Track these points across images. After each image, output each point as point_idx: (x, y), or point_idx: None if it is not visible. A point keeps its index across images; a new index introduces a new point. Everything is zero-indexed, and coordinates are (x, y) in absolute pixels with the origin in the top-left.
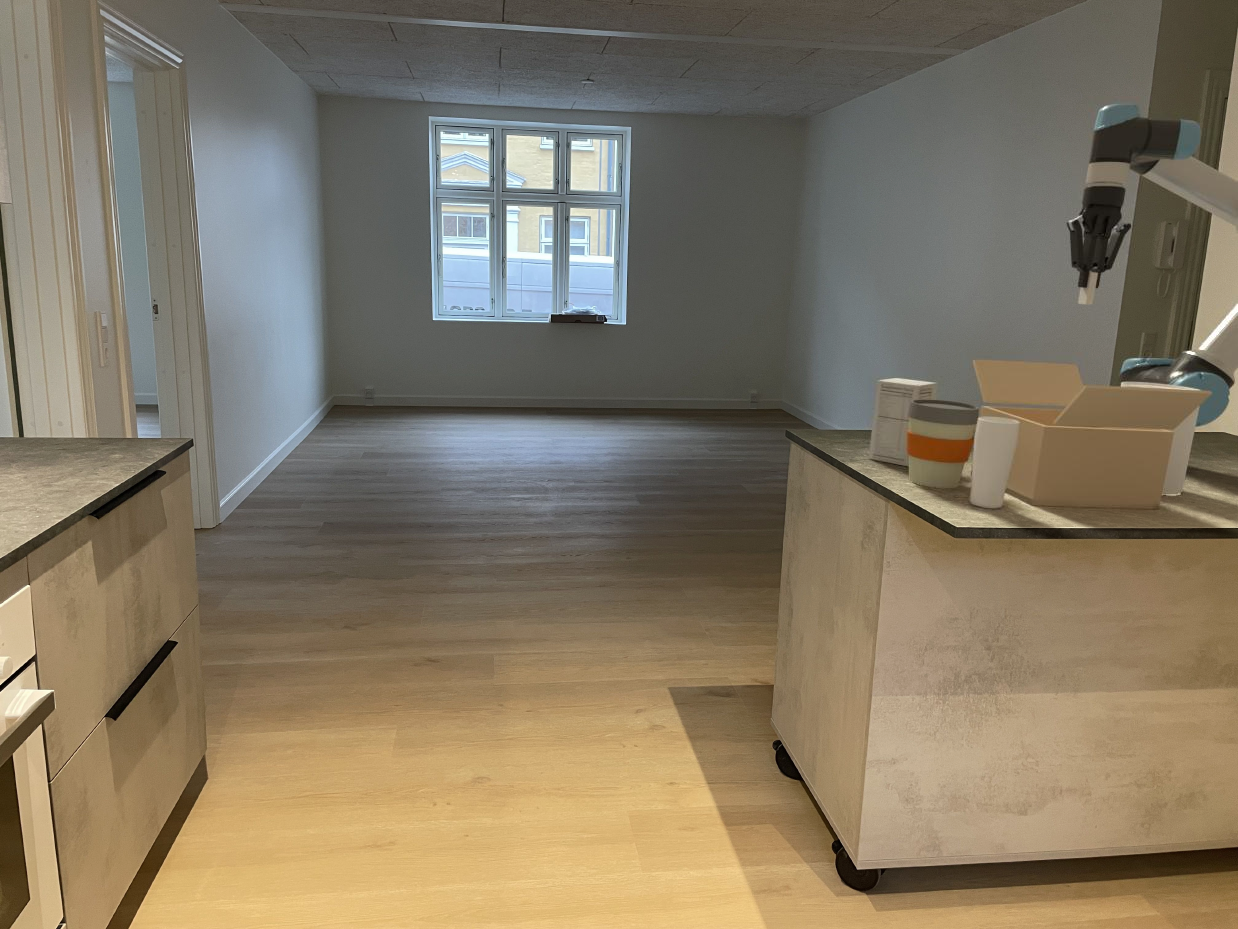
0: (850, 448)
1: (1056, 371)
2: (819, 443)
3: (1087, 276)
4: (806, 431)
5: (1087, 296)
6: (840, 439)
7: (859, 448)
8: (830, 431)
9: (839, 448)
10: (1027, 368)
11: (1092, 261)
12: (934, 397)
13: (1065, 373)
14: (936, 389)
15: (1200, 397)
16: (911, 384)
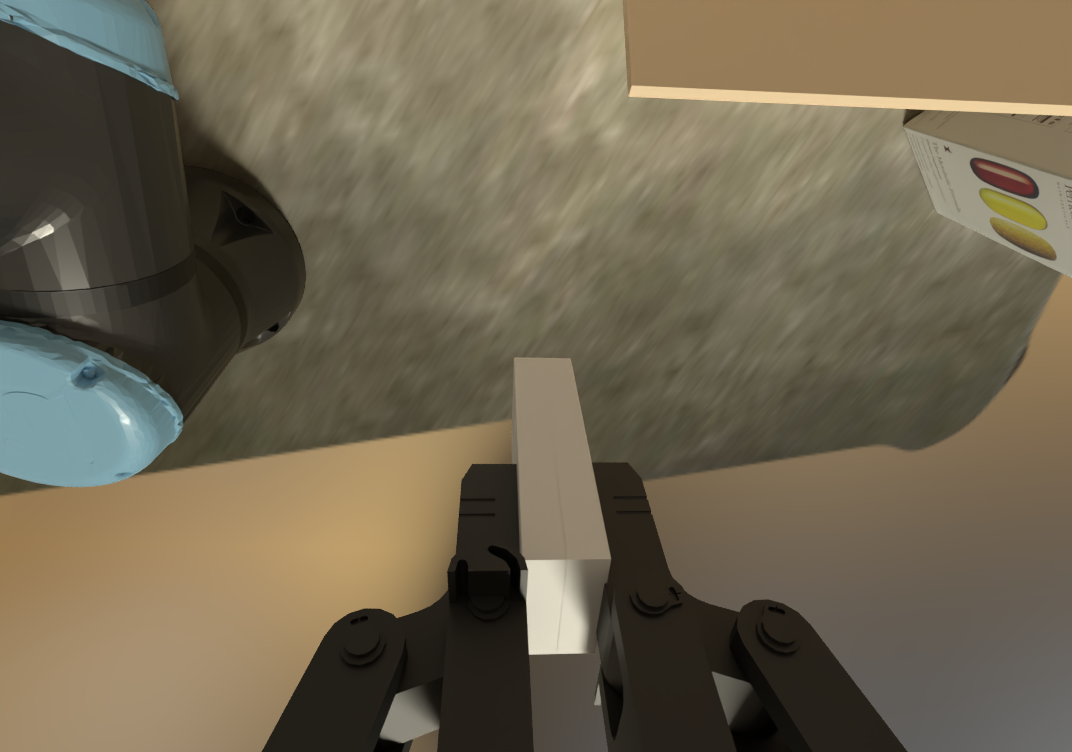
0: (985, 266)
1: (748, 47)
2: (1019, 311)
3: (614, 541)
4: (939, 431)
5: (572, 394)
6: (924, 363)
7: (960, 270)
8: (878, 440)
9: (1015, 262)
10: (891, 64)
11: (640, 692)
12: (1056, 158)
13: (703, 37)
14: (1069, 172)
15: None
16: None
